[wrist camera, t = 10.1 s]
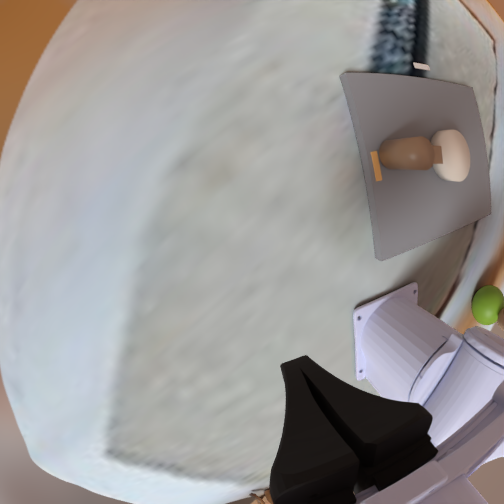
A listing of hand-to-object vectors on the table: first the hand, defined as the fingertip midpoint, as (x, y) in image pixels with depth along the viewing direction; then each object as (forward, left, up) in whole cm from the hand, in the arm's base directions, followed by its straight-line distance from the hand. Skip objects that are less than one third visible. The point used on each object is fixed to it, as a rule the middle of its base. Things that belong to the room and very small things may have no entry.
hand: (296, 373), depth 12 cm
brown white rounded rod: (+8, -18, -8) cm, 21 cm away
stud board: (+8, -21, -9) cm, 24 cm away
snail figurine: (-12, -29, -10) cm, 33 cm away
